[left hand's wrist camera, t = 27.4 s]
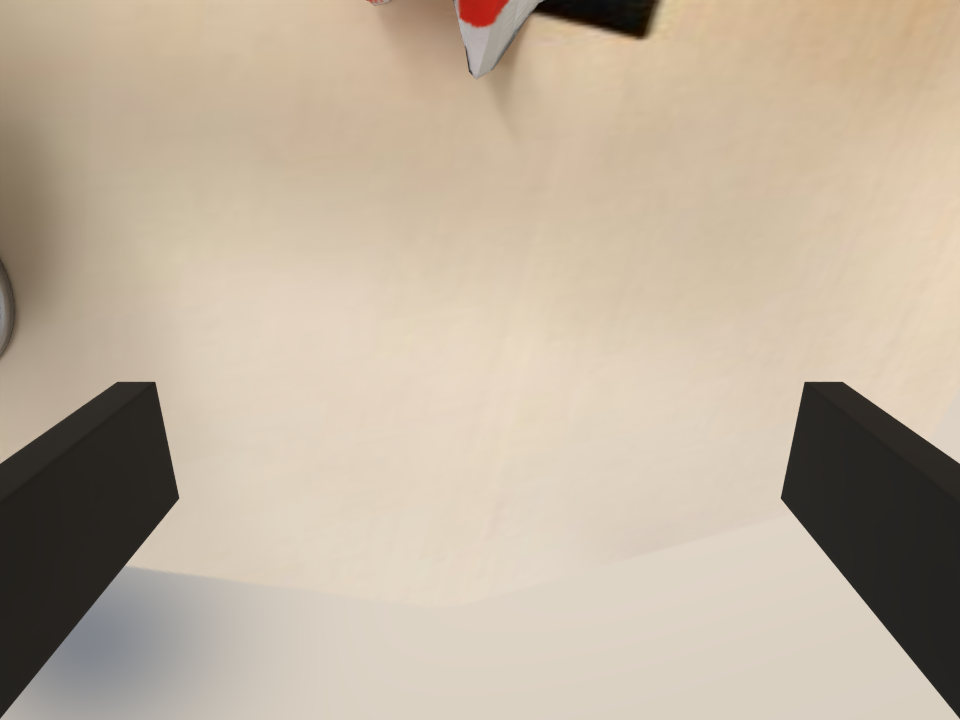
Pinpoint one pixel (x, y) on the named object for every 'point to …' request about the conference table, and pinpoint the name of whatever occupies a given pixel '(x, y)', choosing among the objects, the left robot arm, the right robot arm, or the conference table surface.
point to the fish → (488, 28)
